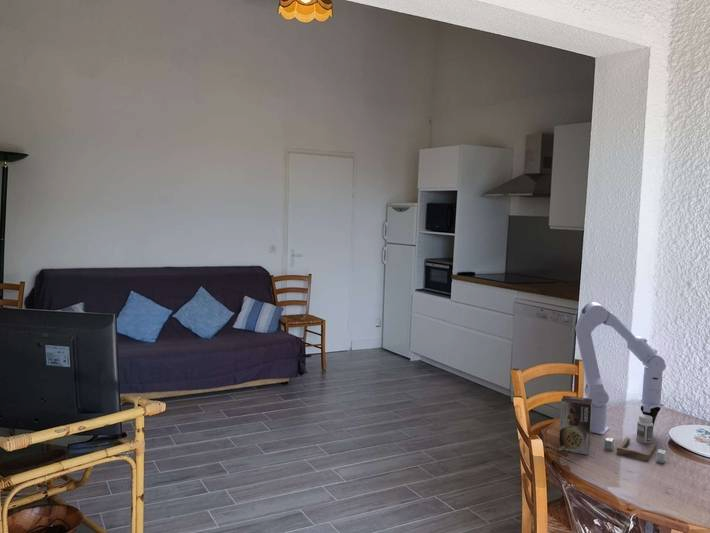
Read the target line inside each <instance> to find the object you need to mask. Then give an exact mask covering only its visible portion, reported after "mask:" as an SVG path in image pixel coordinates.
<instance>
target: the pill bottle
mask: <svg viewBox="0 0 710 533" xmlns="http://www.w3.org/2000/svg"><path fill="white" fill-rule="evenodd" d="M652 419H653V418H652V416H649V415H644V414H643V413H641V414H639V415H638V421H637V425H636V441H638V442H639V443H643V444H650V443H652V442H653V436H654V426H653V423H652Z"/></svg>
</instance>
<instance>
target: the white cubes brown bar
mask: <svg viewBox="0 0 710 533" xmlns="http://www.w3.org/2000/svg"><path fill="white" fill-rule="evenodd" d="M630 440H631V438H630V437H625V439H624V440H623V441H622V442H621V444H619V446H617V447H616V455H620V456H624V457H629V458H632V459H637V460H640V461H644V462H649V461H650V459H651V458H652V457H653V455H654V453H655V451H656V450H657V451H656V460H655V462H656V463H660V464H664V463H666V460H667V459H666V458H667V450H665V449H660V448H659V449H657V443H652V445H651V446H650V448H649V449H648V451H647V452H643V451H638V450H633V449H629V448H626V447H627V446H628V445H629V443H630ZM614 442H615V438H612V437H609V436H608V437H606V438H605V439H604V448H603V449H604V450H607V451H612V450H613V449H614V447H615V446H614V444H615V443H614Z"/></svg>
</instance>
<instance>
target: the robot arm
mask: <svg viewBox="0 0 710 533" xmlns="http://www.w3.org/2000/svg"><path fill="white" fill-rule="evenodd" d="M600 325H605V326H608V327H611V328H613V330H614V331H615V332H616V333H618V335H620V336H621V337H622V339H623V340H624V341H626V343H627V344H626V345H627V346H626V348H627V349H628V350H629V351H630V352H631V353H632V354H633V355H634V356H635V357H636V359H638V360H639V361H640V362H641V363H642V365H643V366H644V370H643V379H642V393H641V400H640V403H641V406H640V411H641V414H644V415H649V416H652V418H653V419H652V423H653V427H655V423H656V419H657V416H658V413H659V412H660V411H661V407H664V406H665V403H664V402H661V401H662V387H663V372H664V371H665V370H666V368H667V364H666V362H665V360H664V358H663V357H662V356H661V355H659V354H658V350H657V349H655V348H653V347H652V346H651V345H649V343H648V340H647V339H646V338H645V337H642V336H641V335H636V336H635V335H634V334H633V333H632V332H631V331H630V329H629V328H628V327H626V325H625V324H624V323H623V322H622V321H621V320H620V319H619V317H617V315H615V314H614V313H612V312H611V311H609V310H608V309H607V308H606V307H605V306H603V305H601V303H599V302H597V301H590V302H587V304H586V305H584V306H583V307H582V309H581V310H580V314H579V317H578V320H577V322H576V324H575V328H574V329H575V333H576V334H575V335H576V339H577V344H578V349H579V353H580V359H581V362H582V368H583V371H584V372H583V373H584V377H585V378H584V382H585V387H584V395H585V396H586V399H592V417H591V433H592V434H593V433H594V434H598V435H601V436H604V435H605V434H606V432H608V430H609V429H610V427H609V426H607V411H608V403H609V400H610V396H609V394H608V393H607V391H606V390H605V387H604V384H603V381H602V378H601V375H600V369H599V365H598V360H597V355H596V350H595V346H594V341H593V337H592V333H593V331H595V329H596V327H598V326H600Z"/></svg>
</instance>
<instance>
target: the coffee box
mask: <svg viewBox="0 0 710 533" xmlns="http://www.w3.org/2000/svg"><path fill="white" fill-rule="evenodd" d="M586 398H587V397H586ZM586 398H585V397H579V396H570V395H563V396H562V398H561V401H560V415H559V416H560V417H559V418H560V421H559V435H558V436H559V438H558V439H559V440H558V450H559V449H561V450H560V451H562V450H566V451H565V452H568V451H571V453H575V454H576V453H577V454H580V453H581V454H580V455H587V456H588V455H590V452H591V451H590V450H591V433H592V432H591V417H592V399H586Z"/></svg>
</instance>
